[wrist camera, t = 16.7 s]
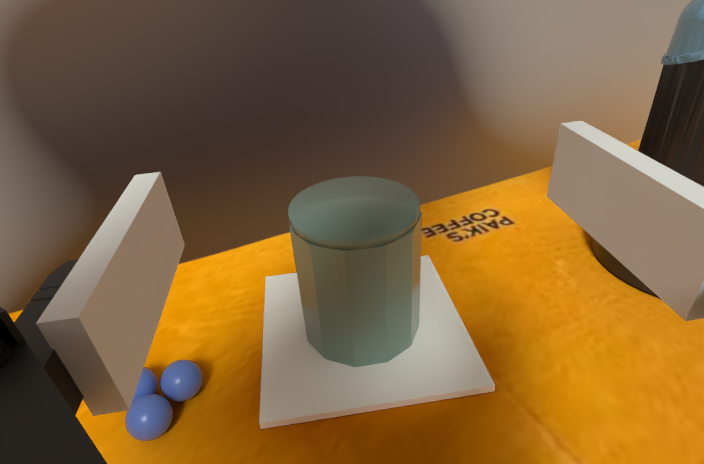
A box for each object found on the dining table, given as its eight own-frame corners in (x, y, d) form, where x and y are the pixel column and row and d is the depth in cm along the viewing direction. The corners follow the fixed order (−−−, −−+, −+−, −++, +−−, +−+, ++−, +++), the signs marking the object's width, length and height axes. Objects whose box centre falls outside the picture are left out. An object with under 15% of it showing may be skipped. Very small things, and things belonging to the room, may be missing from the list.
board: (428, 260, 44) (428, 255, 44) (494, 391, 30) (495, 385, 30) (266, 281, 43) (265, 276, 42) (260, 429, 29) (259, 423, 29)
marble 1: (166, 381, 33) (155, 355, 32) (157, 413, 31) (145, 386, 29) (127, 387, 33) (115, 361, 31) (116, 420, 30) (101, 393, 29)
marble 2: (181, 409, 31) (170, 382, 29) (172, 446, 28) (160, 418, 27) (139, 415, 31) (126, 388, 29) (127, 453, 28) (112, 426, 27)
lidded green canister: (402, 281, 40) (402, 170, 35) (431, 355, 33) (436, 228, 27) (303, 295, 40) (287, 183, 34) (310, 374, 32) (289, 247, 26)
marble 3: (209, 375, 33) (200, 348, 32) (203, 406, 31) (193, 379, 29) (170, 380, 33) (160, 354, 32) (162, 413, 31) (150, 386, 29)
